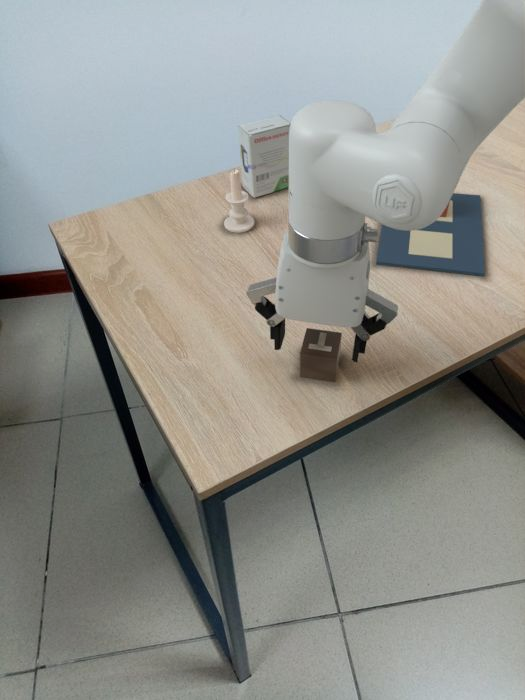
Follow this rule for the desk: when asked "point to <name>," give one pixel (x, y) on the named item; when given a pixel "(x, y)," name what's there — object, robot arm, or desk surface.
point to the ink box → (265, 155)
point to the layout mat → (439, 241)
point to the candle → (237, 207)
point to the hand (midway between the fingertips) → (317, 347)
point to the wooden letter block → (320, 354)
